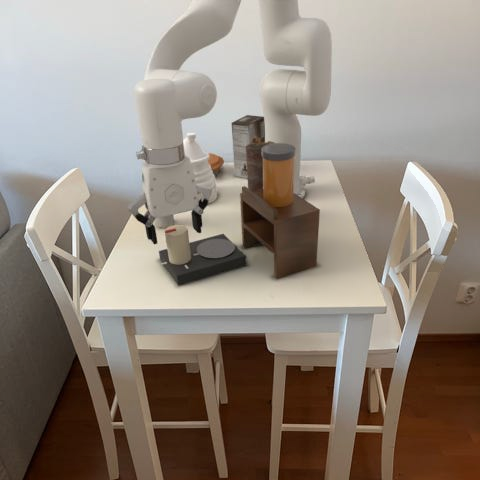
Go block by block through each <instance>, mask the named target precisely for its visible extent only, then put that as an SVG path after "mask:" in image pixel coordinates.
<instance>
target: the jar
mask: <svg viewBox="0 0 480 480" xmlns="http://www.w3.org/2000/svg"><path fill="white" fill-rule="evenodd" d="M261 155H262V157H263V200H264V201H266V202H267V203H269V204H270V205H271V206H273V207H284V206H288V205H290V204H291V203H292V202H293V187H294V156H295V147H294V146H293V145H290V144H285V143H275V144H269V145H266V146H264V147H262V149H261Z"/></svg>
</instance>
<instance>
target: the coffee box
mask: <svg viewBox="0 0 480 480" xmlns="http://www.w3.org/2000/svg"><path fill="white" fill-rule="evenodd" d="M231 136H232V137H231V138H232V139H231V140H232V152H233V154H232V155H233V170H234V177H237V178H242V179H243V178H245V179H248V176H247V161H246V146H247V145H248V144H250V143H265V124H264V116H260V115H250V114H246V115H245V116H242V117H240V118H238V119H236V120H235V121H232V122H231Z"/></svg>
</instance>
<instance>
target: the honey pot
mask: <svg viewBox="0 0 480 480" xmlns="http://www.w3.org/2000/svg"><path fill="white" fill-rule="evenodd" d="M196 138H197V132H193V131H192V132H187V133H186V134H185V137H184V138H183V143H184V152H185V156H187V157H188V158H190V161H191V164H192V168H193V172H194V176H195V181H196V184H197V185H200V186H203V187H206V188H209V189H210V190H211V191H212V194H211V196H210V199H209V201H208V202H209V203H208V205H209V204H211V203H213V202H214V201H216V200H217V199H218V189H217V178H216V176H215V175H214V174H213V171H212V169H211V166H210V164H209V163H208V159H209V157H210V156H209V153H210V152H208V151H205V150H203V149H202V147H201V146H200V144H199V143H198V142H197V140H196ZM202 195H203V194H202V193H198V199H199V200H200V199H201V198H202ZM194 199H195V198H194Z"/></svg>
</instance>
